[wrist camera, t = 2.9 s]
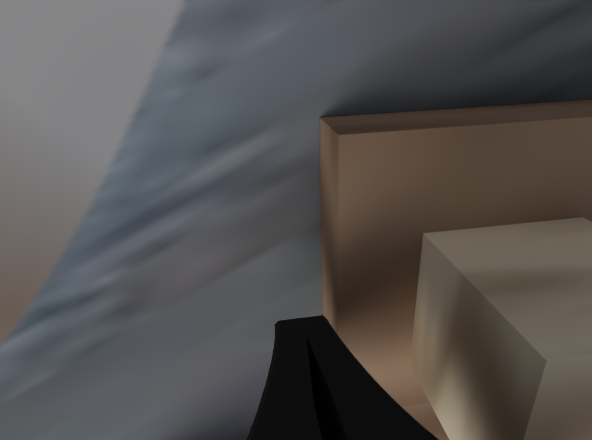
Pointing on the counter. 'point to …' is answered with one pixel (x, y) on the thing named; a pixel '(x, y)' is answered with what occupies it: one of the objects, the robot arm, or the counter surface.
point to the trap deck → (433, 210)
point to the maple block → (507, 330)
